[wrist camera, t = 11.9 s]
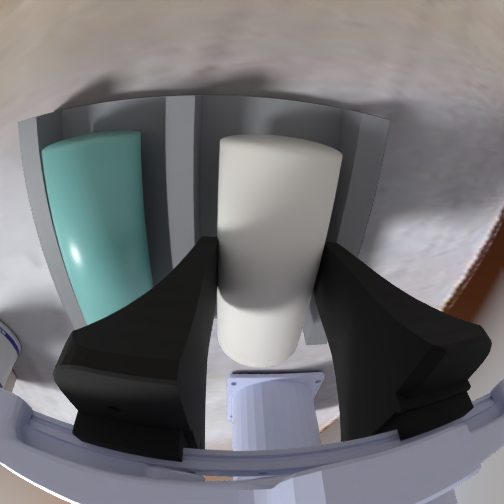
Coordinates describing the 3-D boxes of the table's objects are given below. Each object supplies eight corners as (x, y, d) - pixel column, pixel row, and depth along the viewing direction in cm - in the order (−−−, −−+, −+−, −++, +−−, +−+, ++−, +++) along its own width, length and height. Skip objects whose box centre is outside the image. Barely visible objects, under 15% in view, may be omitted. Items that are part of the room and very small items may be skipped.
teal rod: (76, 134, 10) (21, 158, 7) (154, 128, 10) (113, 147, 7) (102, 288, 15) (77, 338, 11) (165, 295, 15) (148, 351, 12)
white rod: (274, 299, 16) (313, 350, 13) (206, 317, 14) (236, 378, 11) (298, 135, 11) (367, 162, 8) (205, 135, 9) (252, 160, 6)
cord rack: (316, 310, 17) (326, 344, 15) (89, 299, 16) (74, 329, 14) (361, 112, 11) (389, 120, 9) (52, 112, 10) (18, 122, 7)
